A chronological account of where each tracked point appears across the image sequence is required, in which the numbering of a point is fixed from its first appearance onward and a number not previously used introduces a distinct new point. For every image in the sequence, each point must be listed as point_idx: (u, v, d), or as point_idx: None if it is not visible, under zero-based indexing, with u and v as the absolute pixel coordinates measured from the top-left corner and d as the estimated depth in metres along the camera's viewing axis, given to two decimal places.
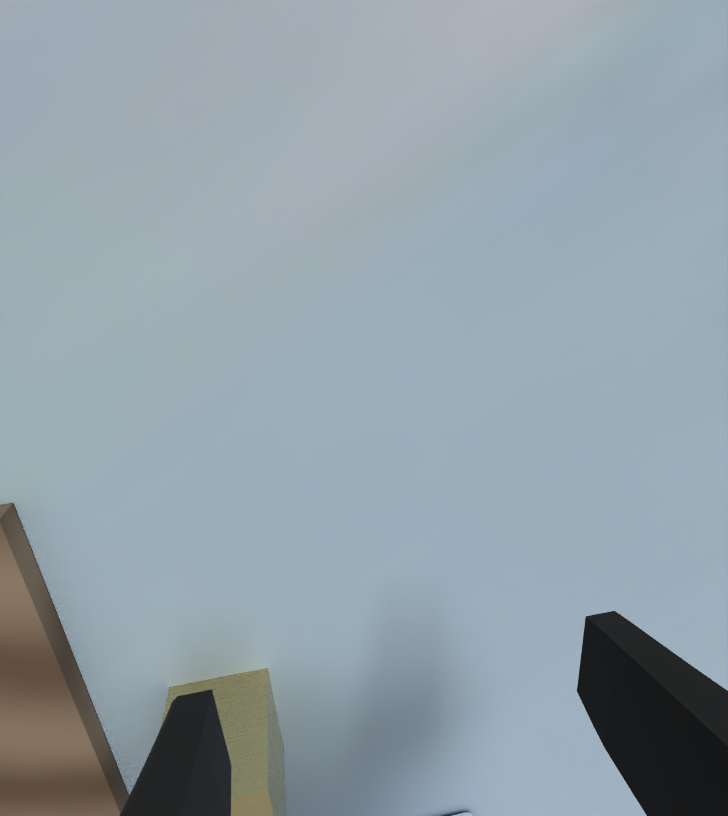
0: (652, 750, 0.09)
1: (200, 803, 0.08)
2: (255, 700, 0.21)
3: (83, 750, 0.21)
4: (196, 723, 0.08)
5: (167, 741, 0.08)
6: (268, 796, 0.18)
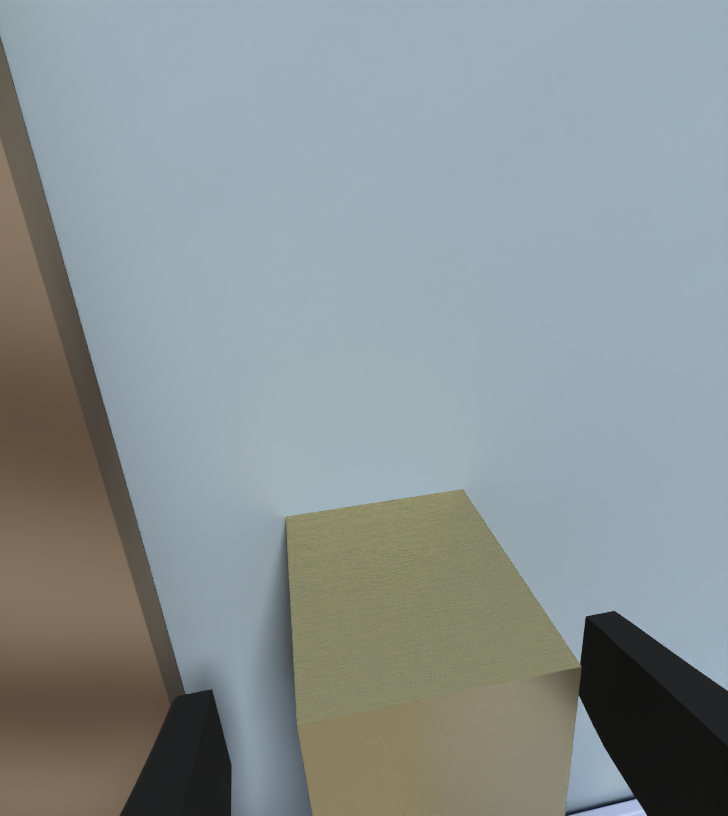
0: (652, 749, 0.09)
1: (200, 803, 0.08)
2: (464, 528, 0.11)
3: (126, 625, 0.11)
4: (196, 723, 0.08)
5: (167, 741, 0.08)
6: (577, 684, 0.08)
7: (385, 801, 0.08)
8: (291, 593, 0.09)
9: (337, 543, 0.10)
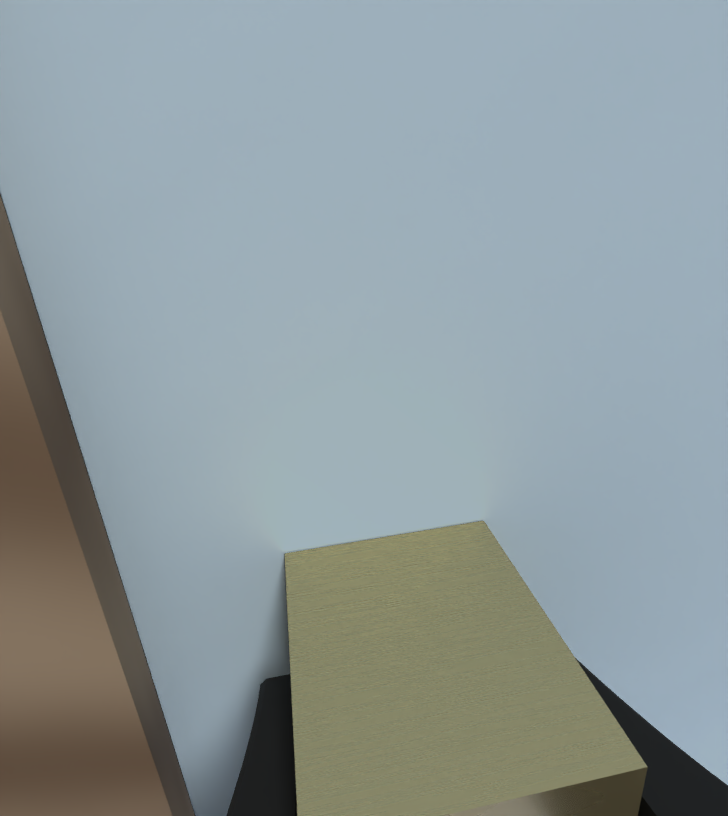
0: None
1: None
2: (489, 573, 0.09)
3: (102, 680, 0.09)
4: None
5: (267, 720, 0.08)
6: (640, 786, 0.06)
7: None
8: (291, 657, 0.08)
9: (344, 591, 0.09)
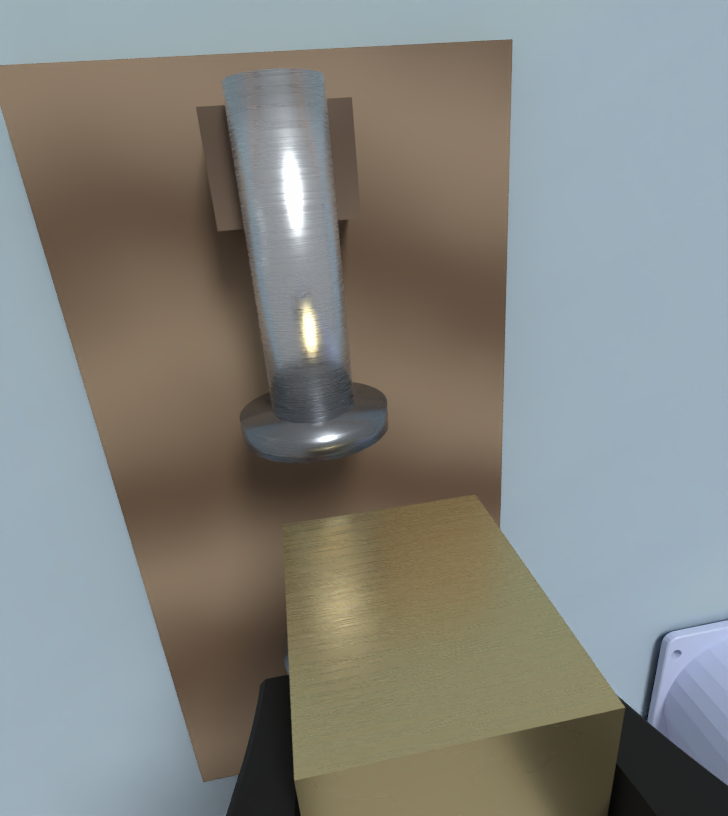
0: None
1: None
2: (480, 541, 0.10)
3: (491, 436, 0.17)
4: None
5: (267, 720, 0.08)
6: (618, 727, 0.07)
7: None
8: (288, 616, 0.08)
9: (339, 557, 0.09)
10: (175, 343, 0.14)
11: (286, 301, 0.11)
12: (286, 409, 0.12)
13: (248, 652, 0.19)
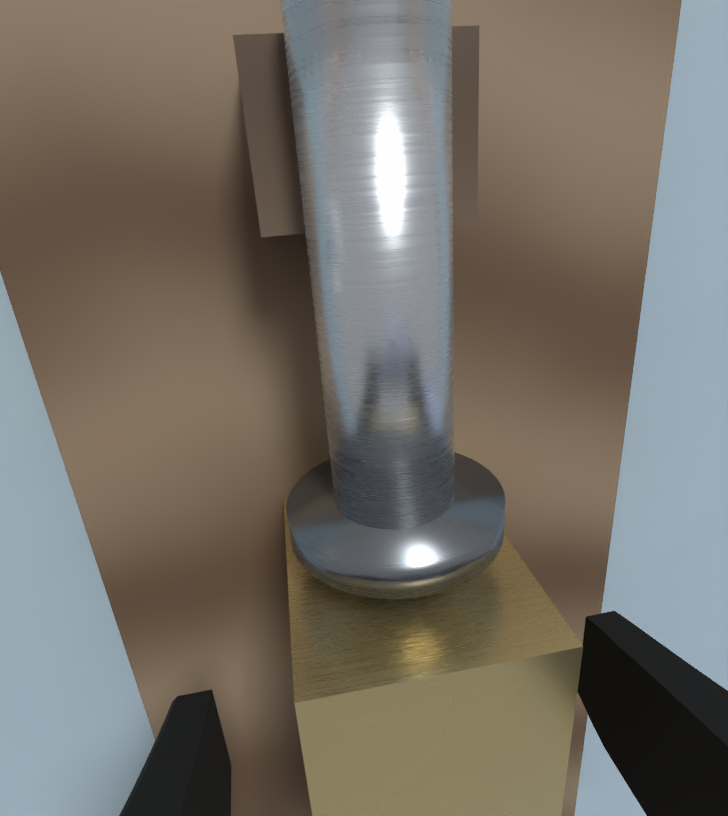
0: (652, 750, 0.09)
1: (200, 803, 0.08)
2: None
3: (601, 506, 0.13)
4: (196, 723, 0.08)
5: (167, 741, 0.08)
6: (578, 665, 0.07)
7: (383, 782, 0.08)
8: (289, 574, 0.09)
9: None
10: (189, 392, 0.10)
11: (374, 350, 0.07)
12: (361, 508, 0.08)
13: (276, 773, 0.14)
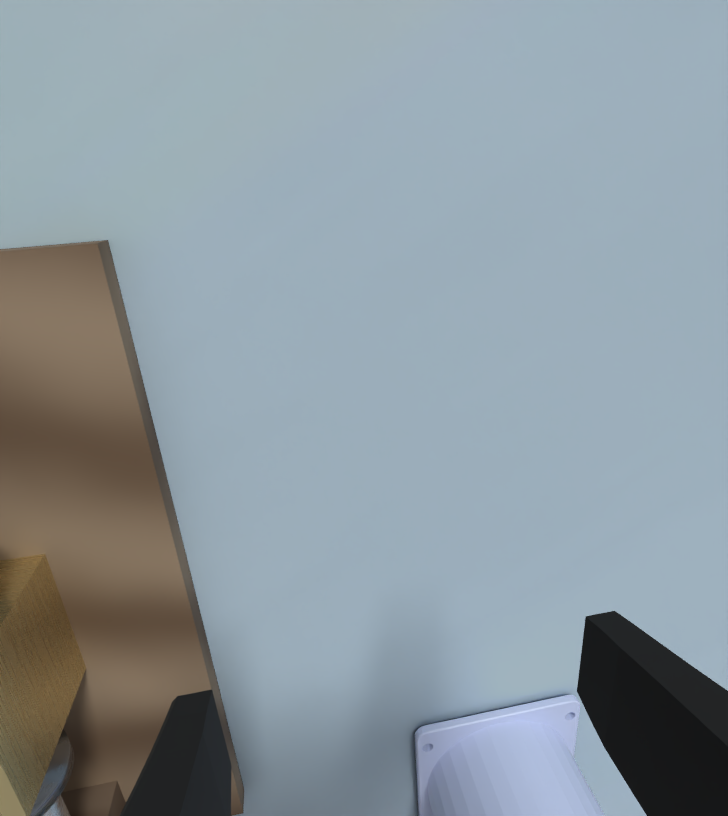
0: (652, 750, 0.09)
1: (200, 803, 0.08)
2: (8, 588, 0.15)
3: (169, 573, 0.18)
4: (196, 723, 0.08)
5: (167, 741, 0.08)
6: None
7: None
8: None
9: None
10: None
11: None
12: None
13: None
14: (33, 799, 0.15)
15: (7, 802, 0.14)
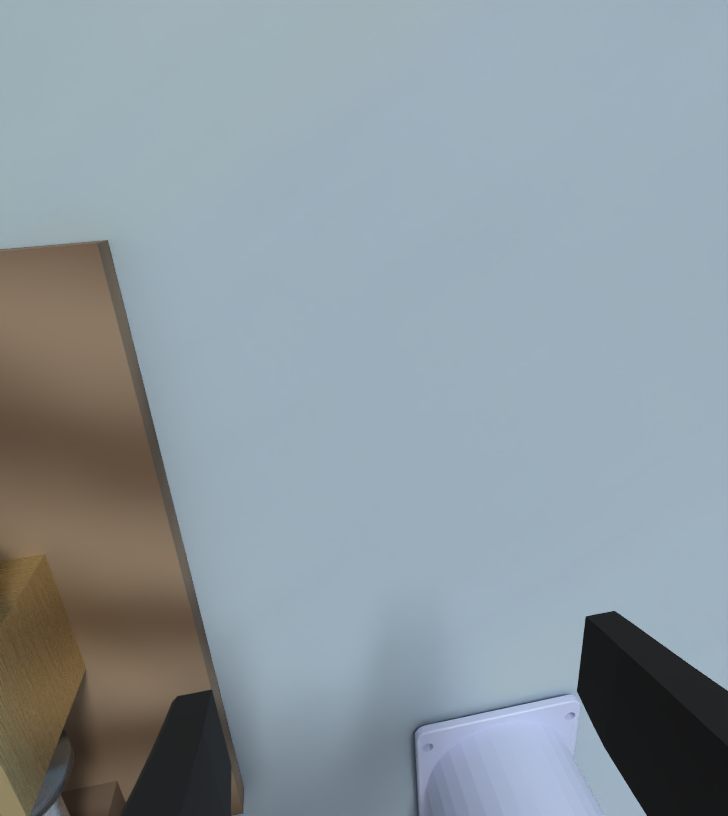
0: (652, 749, 0.09)
1: (200, 803, 0.08)
2: (8, 588, 0.15)
3: (169, 573, 0.18)
4: (196, 723, 0.08)
5: (167, 741, 0.08)
6: None
7: None
8: None
9: None
10: None
11: None
12: None
13: None
14: (33, 799, 0.15)
15: (7, 802, 0.14)
